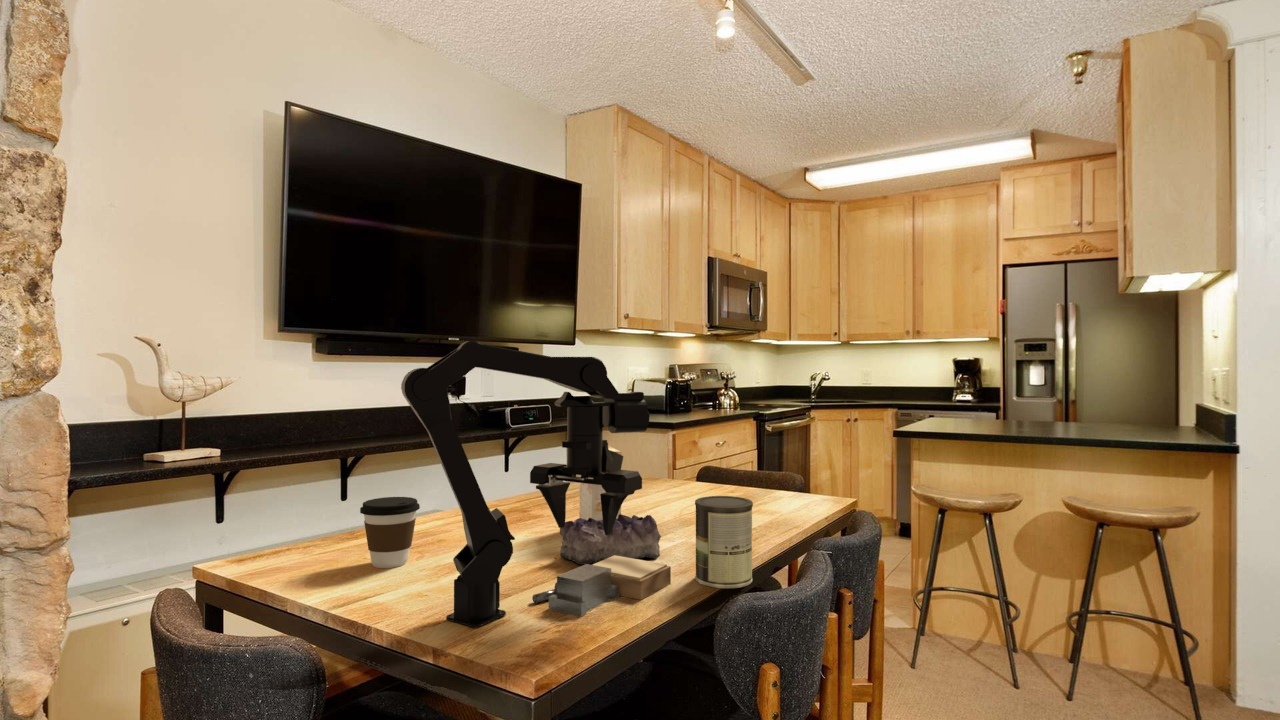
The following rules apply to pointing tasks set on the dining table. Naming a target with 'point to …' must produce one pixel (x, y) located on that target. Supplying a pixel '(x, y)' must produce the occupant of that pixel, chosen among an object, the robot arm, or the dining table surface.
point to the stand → (637, 576)
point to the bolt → (544, 595)
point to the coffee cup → (389, 529)
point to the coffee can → (723, 541)
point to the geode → (610, 539)
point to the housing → (583, 590)
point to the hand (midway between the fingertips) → (584, 531)
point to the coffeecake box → (592, 499)
